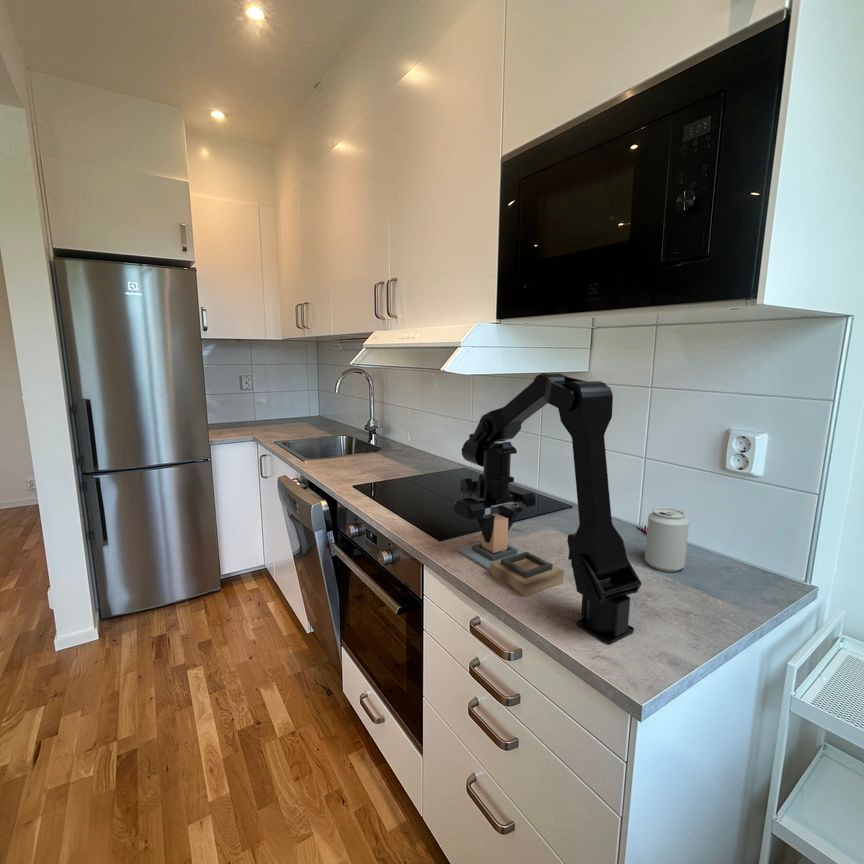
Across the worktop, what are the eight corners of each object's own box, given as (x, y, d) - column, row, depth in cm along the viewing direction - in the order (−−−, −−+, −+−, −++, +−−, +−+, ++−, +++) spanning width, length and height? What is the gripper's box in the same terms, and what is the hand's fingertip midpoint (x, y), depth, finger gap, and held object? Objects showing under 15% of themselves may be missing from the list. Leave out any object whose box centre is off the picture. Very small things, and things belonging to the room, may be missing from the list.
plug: (507, 549, 100) (508, 518, 99) (493, 553, 98) (494, 522, 96) (495, 542, 103) (496, 513, 102) (481, 546, 101) (482, 516, 100)
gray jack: (533, 558, 99) (533, 551, 98) (490, 571, 92) (490, 564, 92) (497, 539, 109) (497, 533, 108) (456, 550, 102) (456, 543, 102)
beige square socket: (563, 582, 88) (564, 565, 87) (525, 596, 83) (525, 578, 82) (526, 563, 96) (527, 547, 96) (489, 574, 91) (490, 558, 90)
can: (636, 560, 98) (640, 507, 96) (662, 555, 100) (667, 503, 98) (665, 576, 91) (670, 518, 89) (692, 570, 93) (698, 514, 92)
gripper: (504, 459, 109) (502, 521, 112) (439, 469, 99) (439, 536, 102) (538, 468, 100) (535, 536, 102) (470, 480, 90) (469, 554, 93)
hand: (494, 540), depth 100 cm, fingers closed on plug, 4 cm apart
